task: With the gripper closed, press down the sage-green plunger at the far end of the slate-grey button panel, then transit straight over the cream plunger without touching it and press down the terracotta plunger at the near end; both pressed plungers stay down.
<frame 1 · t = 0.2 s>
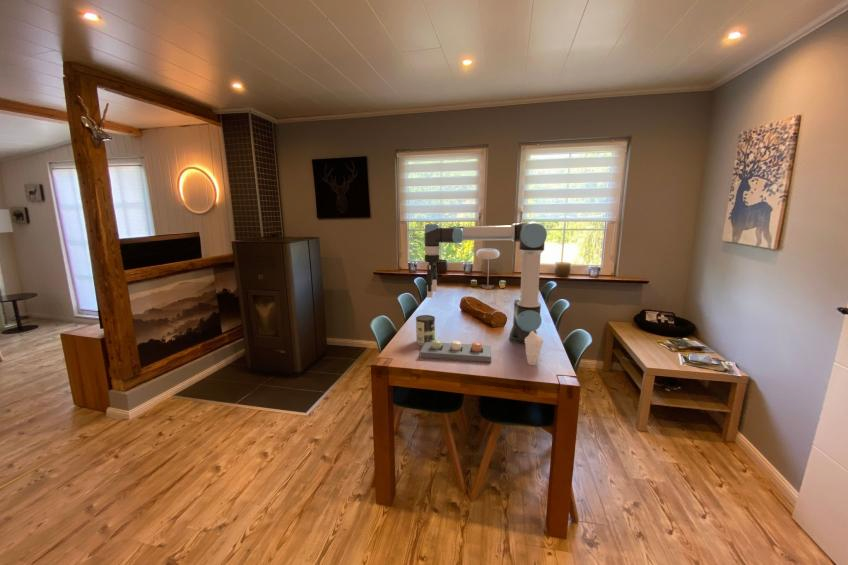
hand: (432, 294, 181), 27 cm above the table, fingers open, 13 cm apart
button panel: (456, 354, 172), on the table
terracotta button: (476, 347, 169), point 4 cm above the table, slide at 0.0 cm
coffee can: (425, 342, 188), on the table
soft serve ice cream cone: (532, 363, 161), on the table
cream button: (456, 346, 171), point 4 cm above the table, slide at 0.0 cm
sage button: (436, 345, 173), point 4 cm above the table, slide at 0.0 cm
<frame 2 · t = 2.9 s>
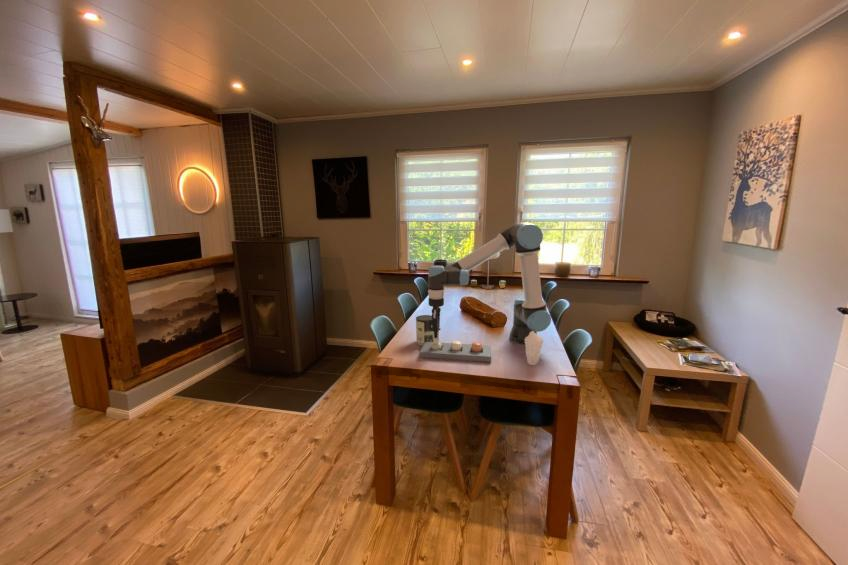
hand: (436, 343, 172), 5 cm above the table, fingers closed
sage button: (436, 347, 173), point 3 cm above the table, slide at 1.1 cm, touching gripper
everything else where it was.
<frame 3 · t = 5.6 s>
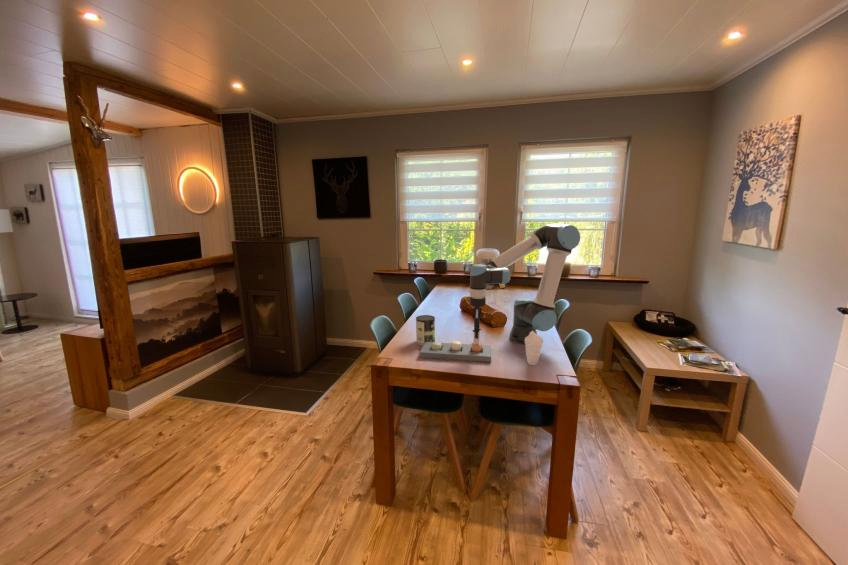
hand: (476, 343, 169), 6 cm above the table, fingers closed
terracotta button: (476, 348, 169), point 4 cm above the table, slide at 0.2 cm, touching gripper
sage button: (436, 347, 173), point 3 cm above the table, slide at 1.2 cm
everything else where it was.
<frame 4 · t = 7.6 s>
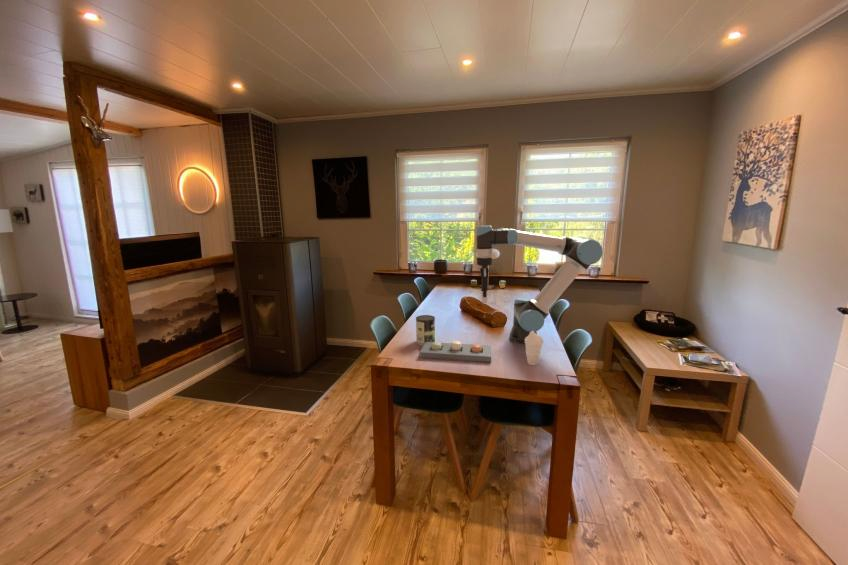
hand: (484, 302, 176), 24 cm above the table, fingers closed
terracotta button: (476, 349, 169), point 3 cm above the table, slide at 1.2 cm
everything else where it was.
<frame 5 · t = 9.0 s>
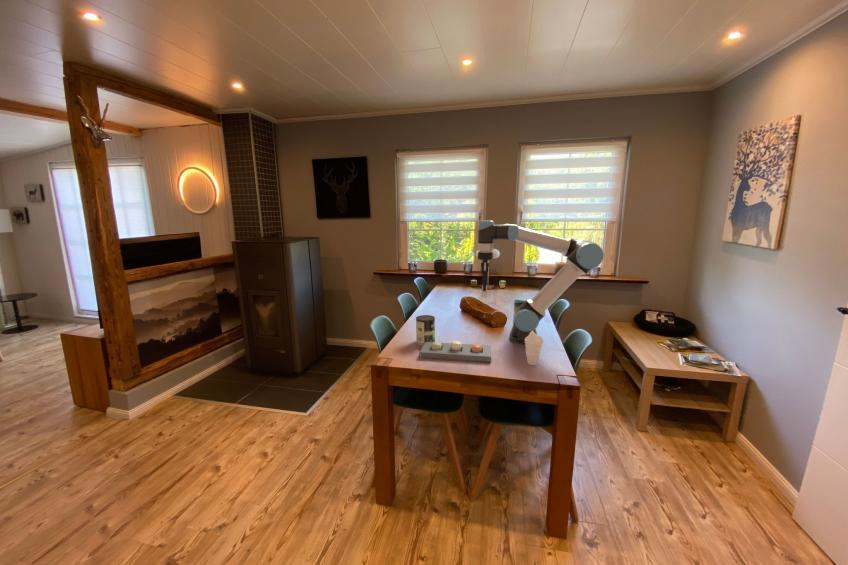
hand: (484, 296, 179), 26 cm above the table, fingers closed
nothing on the table moved.
at the end: sage button slide at 1.2 cm; terracotta button slide at 1.2 cm; cream button slide at 0.0 cm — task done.
